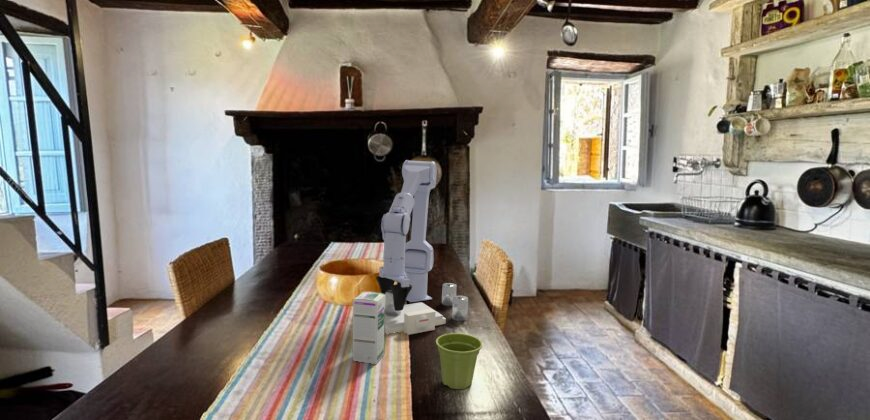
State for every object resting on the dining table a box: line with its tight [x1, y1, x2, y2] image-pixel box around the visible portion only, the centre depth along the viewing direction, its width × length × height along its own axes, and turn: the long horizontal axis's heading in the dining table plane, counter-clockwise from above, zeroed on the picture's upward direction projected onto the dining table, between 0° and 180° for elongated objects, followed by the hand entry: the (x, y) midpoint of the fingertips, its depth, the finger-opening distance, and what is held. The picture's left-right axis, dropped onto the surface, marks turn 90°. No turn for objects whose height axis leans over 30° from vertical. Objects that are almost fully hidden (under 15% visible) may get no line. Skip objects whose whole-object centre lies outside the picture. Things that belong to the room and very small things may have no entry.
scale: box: [385, 301, 447, 336], centre depth 122 cm, size 15×18×5 cm
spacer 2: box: [441, 282, 458, 307], centre depth 140 cm, size 4×4×6 cm
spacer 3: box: [451, 295, 469, 322], centre depth 127 cm, size 4×4×6 cm
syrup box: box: [352, 291, 386, 365], centre depth 100 cm, size 6×6×14 cm
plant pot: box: [435, 332, 483, 390], centre depth 91 cm, size 9×9×9 cm
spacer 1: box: [385, 290, 401, 316], centre depth 122 cm, size 4×4×6 cm
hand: (392, 305), depth 122 cm, fingers open, 7 cm apart
